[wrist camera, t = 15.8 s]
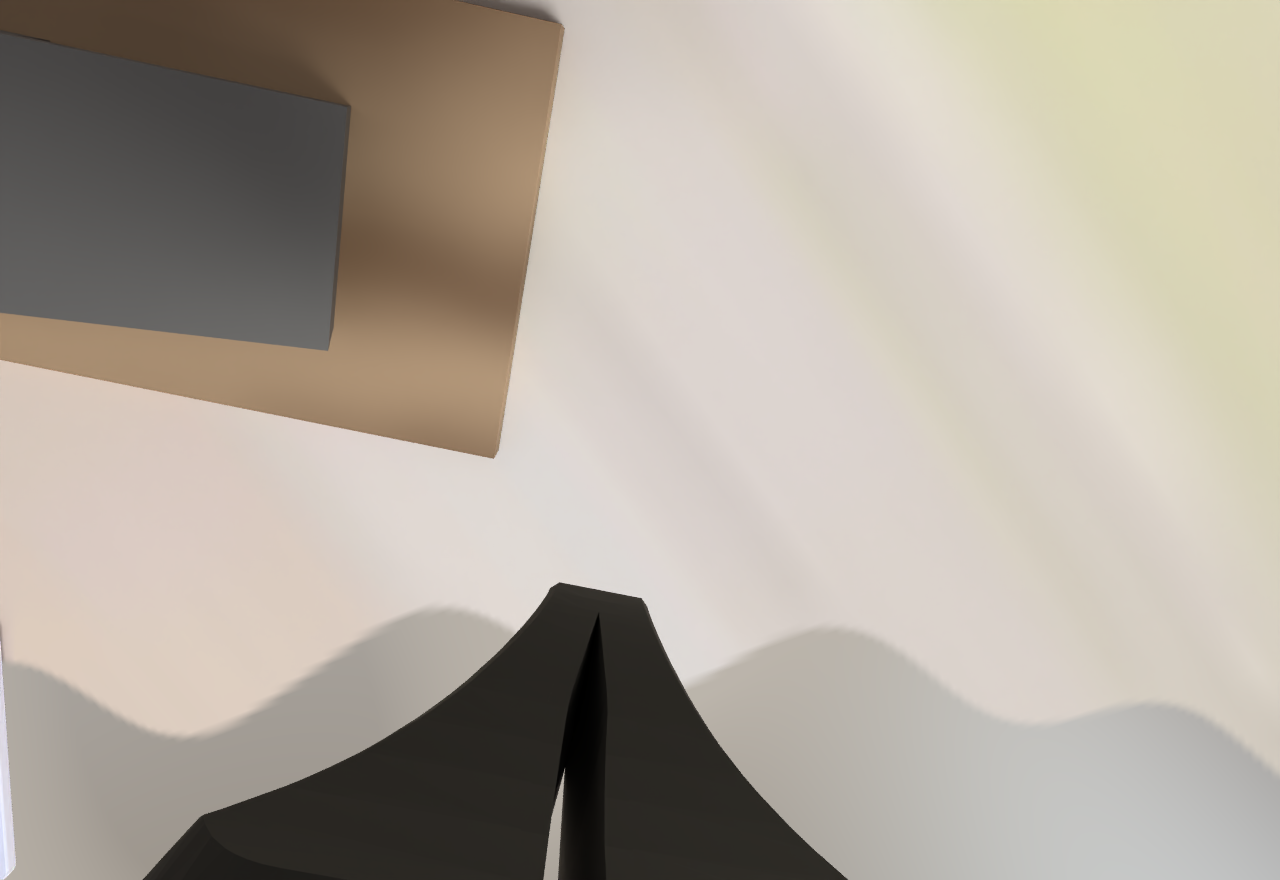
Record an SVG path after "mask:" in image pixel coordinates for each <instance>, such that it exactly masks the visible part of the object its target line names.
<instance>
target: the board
mask: <svg viewBox="0 0 1280 880" xmlns="http://www.w3.org/2000/svg"><path fill="white" fill-rule="evenodd" d="M564 29H565V28H564V27H563V26H562V24H559V23H554V22H550V21H546V20H541V19H537V18H532V17H528V16H523V15H519V14H514V13H510V12H506V11H501V10H497V9H492V8H488V7H483V6H479V5H474V4H470V3H465V2H461V1H457V0H0V30H3V31H7V32H12V33H17V34H22V35H26V36H31V37H36V38H40V39H45V40H50V42H51V43H56V44H61V45H66V46H70V47H75V48H80V49H84V50H89V51H94V52H99V53H103V54H108V55H113V56H117V57H122V58H127V59H132V60H136V61H141V62H146V63H150V64H155V65H160V66H165V67H169V68H174V69H179V70H183V71H188V72H193V73H198V74H202V75H207V76H212V77H216V78H221V79H226V80H231V81H235V82H240V83H245V84H249V85H254V86H259V87H263V88H268V89H273V90H278V91H282V92H287V93H292V94H296V95H301V96H306V97H311V98H315V99H320V100H325V101H329V102H334V103H339V104H344V105H348V106H351V115H350V127H349V140H348V152H347V165H346V178H345V190H344V203H343V215H342V228H341V241H340V253H339V266H338V278H337V291H336V304H335V316H334V328H333V332H332V337H331V341H330V345H329V349H328V351H324V350H315V349H307V348H298V347H290V346H281V345H272V344H264V343H255V342H247V341H238V340H229V339H221V338H212V337H204V336H195V335H186V334H178V333H169V332H161V331H152V330H143V329H135V328H126V327H118V326H109V325H100V324H92V323H83V322H75V321H66V320H57V319H49V318H40V317H32V316H23V315H14V314H6V313H0V360H4V361H9V362H14V363H19V364H24V365H29V366H34V367H39V368H44V369H49V370H54V371H59V372H64V373H69V374H74V375H79V376H84V377H89V378H94V379H99V380H104V381H109V382H114V383H119V384H124V385H129V386H134V387H139V388H144V389H149V390H154V391H159V392H164V393H169V394H174V395H179V396H184V397H189V398H194V399H199V400H204V401H209V402H214V403H219V404H224V405H229V406H234V407H239V408H244V409H249V410H254V411H259V412H264V413H269V414H274V415H279V416H284V417H289V418H294V419H299V420H304V421H309V422H314V423H319V424H324V425H329V426H334V427H339V428H344V429H349V430H354V431H359V432H363V433H368V434H373V435H378V436H383V437H388V438H393V439H398V440H403V441H408V442H413V443H418V444H423V445H428V446H433V447H438V448H443V449H448V450H453V451H458V452H463V453H468V454H473V455H478V456H483V457H488V458H493V459H494V457H495V455H496V454H497V452H498V449H499V443H500V437H501V430H502V424H503V417H504V411H505V405H506V398H507V392H508V386H509V379H510V373H511V366H512V360H513V354H514V347H515V341H516V335H517V328H518V322H519V315H520V309H521V303H522V296H523V290H524V284H525V277H526V271H527V265H528V258H529V252H530V245H531V239H532V233H533V226H534V220H535V214H536V207H537V201H538V194H539V188H540V182H541V175H542V169H543V163H544V156H545V150H546V143H547V137H548V131H549V124H550V118H551V112H552V105H553V99H554V92H555V86H556V80H557V73H558V67H559V61H560V54H561V48H562V42H563V35H564Z"/></svg>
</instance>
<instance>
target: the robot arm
mask: <svg viewBox="0 0 1280 880" xmlns="http://www.w3.org/2000/svg"><path fill="white" fill-rule="evenodd" d="M564 769H565V775H564V792H563V808H562V823H561V840H560V858H559V873H558V874H559V875H558V880H848V879H847V878H845V877H844V876H843V875H842V874H841V873H840V872H839V871H837V870H836V869H835V868H834V867H833V866H832V865H831V864H829V863H828V862H827V861H826V860H825V859H824V858H823V857H822V856H820V855H819V854H818V853H817V852H816V851H815V850H814V849H812V848H811V847H810V846H809V845H808V844H807V843H806V842H805V841H804V840H803V839H802V838H801V837H800V836H799V835H798V834H797V833H796V832H795V831H794V830H793V829H792V828H791V827H789V825H788V824H787V823H786V822H785V821H784V820H783V819H782V818H781V817H780V816H779V815H778V814H777V813H776V812H775V811H774V810H773V808H771V806H770V805H769V804H768V803H767V802H766V801H765V800H764V799H763V798H762V797H761V796H760V795H759V794H758V792H757V791H756V790H755V789H754V788H753V787H752V785H751V784H750V783H749V782H748V781H747V780H746V778H745V777H744V776H743V775H742V774H741V772H740V771H739V770H738V768H737V767H736V766H735V765H734V763H733V762H732V761H731V760H730V758H729V757H728V756H727V754H726V753H725V752H724V751H723V749H722V748H721V747H720V745H719V744H718V742H717V741H716V739H715V738H714V736H713V735H712V733H711V732H710V730H709V729H708V727H707V726H706V724H705V723H704V721H703V719H702V718H701V716H700V715H699V713H698V711H697V710H696V708H695V707H694V705H693V703H692V701H691V700H690V698H689V696H688V694H687V693H686V691H685V689H684V687H683V685H682V683H681V681H680V680H679V678H678V676H677V674H676V672H675V670H674V668H673V666H672V664H671V662H670V660H669V658H668V656H667V654H666V652H665V650H664V648H663V645H662V643H661V641H660V639H659V637H658V634H657V632H656V629H655V627H654V625H653V622H652V619H651V617H650V614H649V611H648V608H647V606H646V604H645V603H644V601H643V600H642V598H637V597H632V596H627V595H622V594H616V593H611V592H606V591H601V590H596V589H591V588H586V587H580V586H575V585H570V584H565V583H558V584H556V585H554V586H553V587H551V588H550V590H549V592H548V594H547V595H546V597H545V599H544V600H543V602H542V603H541V604H540V606H539V607H538V608H537V610H536V611H535V612H534V613H533V615H532V616H531V617H530V618H529V619H528V621H527V622H526V623H525V624H524V625H523V626H522V628H521V629H520V630H519V631H518V632H517V633H516V634H515V635H514V636H513V637H512V638H511V639H510V640H509V642H508V643H507V644H506V645H505V646H504V647H503V648H502V649H501V650H500V651H499V652H498V653H497V654H496V655H495V656H494V657H492V658H491V659H490V660H489V661H488V662H487V663H486V664H485V665H484V666H483V667H481V668H480V669H479V670H478V671H477V672H476V673H475V674H474V675H473V676H471V677H470V678H469V679H468V680H467V681H466V682H465V683H463V684H462V685H461V686H460V687H459V688H457V689H456V690H455V691H453V692H452V693H451V694H450V695H448V696H447V697H446V698H444V699H443V700H442V701H440V702H439V703H438V704H436V705H435V706H433V707H432V708H431V709H429V710H428V711H427V712H425V713H424V714H422V715H421V716H420V717H418V718H416V719H415V720H413V721H412V722H410V723H408V724H407V725H405V726H404V727H402V728H400V729H399V730H397V731H396V732H394V733H393V734H391V735H389V736H388V737H386V738H385V739H383V740H381V741H379V742H378V743H376V744H374V745H372V746H371V747H369V748H367V749H365V750H363V751H362V752H360V753H358V754H356V755H354V756H352V757H350V758H348V759H346V760H344V761H341V762H339V763H337V764H335V765H333V766H331V767H329V768H327V769H325V770H322V771H320V772H318V773H316V774H313V775H311V776H309V777H307V778H304V779H302V780H300V781H297V782H295V783H292V784H290V785H287V786H285V787H282V788H279V789H277V790H274V791H271V792H268V793H265V794H262V795H260V796H257V797H254V798H251V799H249V800H246V801H243V802H241V803H238V804H235V805H232V806H229V807H227V808H223V809H221V810H217V811H214V812H211V813H208V814H205V815H203V816H201V817H200V818H199V819H198V820H197V821H196V822H195V823H194V824H193V825H192V826H191V827H190V828H189V829H188V830H187V832H186V833H185V834H184V835H183V836H182V837H181V838H180V839H179V840H178V842H176V844H175V845H174V846H173V847H172V848H171V849H170V850H169V851H168V852H167V853H166V854H165V856H164V857H163V858H162V859H161V860H160V861H159V862H158V864H156V866H155V867H154V868H153V869H152V870H151V871H150V872H149V874H147V876H146V877H145V878H144V879H143V880H543V877H544V869H545V861H546V853H547V846H548V838H549V830H550V823H551V816H552V813H553V809H554V805H555V802H556V798H557V795H558V791H559V787H560V784H561V780H562V777H563V773H564ZM15 865H16V860H15V844H14V831H13V816H12V801H11V787H10V773H9V759H8V745H7V730H6V715H5V701H4V686H3V672H2V658H1V643H0V880H3V879H5V878H6V877H7V876H8V875H9V874H10V873H11V872H12V871H13V869H14V868H15Z"/></svg>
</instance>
